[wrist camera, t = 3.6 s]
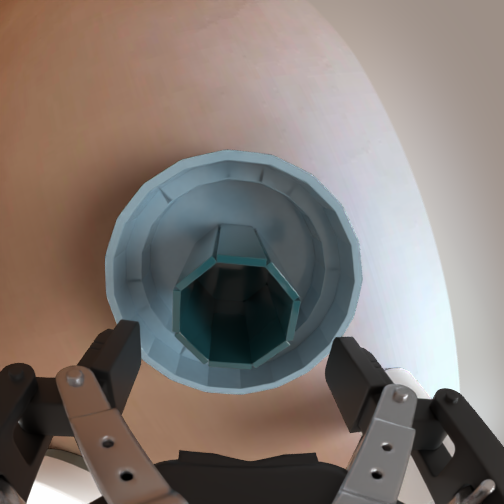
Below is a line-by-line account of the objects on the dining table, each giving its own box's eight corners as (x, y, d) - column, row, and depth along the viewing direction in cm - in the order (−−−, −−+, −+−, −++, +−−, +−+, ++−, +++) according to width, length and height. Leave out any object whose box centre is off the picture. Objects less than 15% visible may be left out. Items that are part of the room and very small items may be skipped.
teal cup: (278, 228, 23) (307, 262, 14) (267, 305, 24) (286, 371, 16) (195, 220, 22) (174, 250, 14) (190, 298, 24) (172, 362, 15)
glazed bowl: (346, 173, 23) (381, 174, 17) (312, 354, 27) (330, 395, 21) (139, 149, 21) (110, 142, 15) (134, 340, 25) (114, 379, 19)
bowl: (80, 509, 34) (70, 540, 26) (1, 433, 28) (-20, 465, 20) (179, 515, 34) (176, 554, 26) (97, 434, 28) (77, 484, 20)
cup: (337, 398, 29) (393, 521, 13) (402, 354, 28) (488, 457, 12) (364, 431, 31) (412, 532, 15) (420, 393, 30) (487, 482, 14)
